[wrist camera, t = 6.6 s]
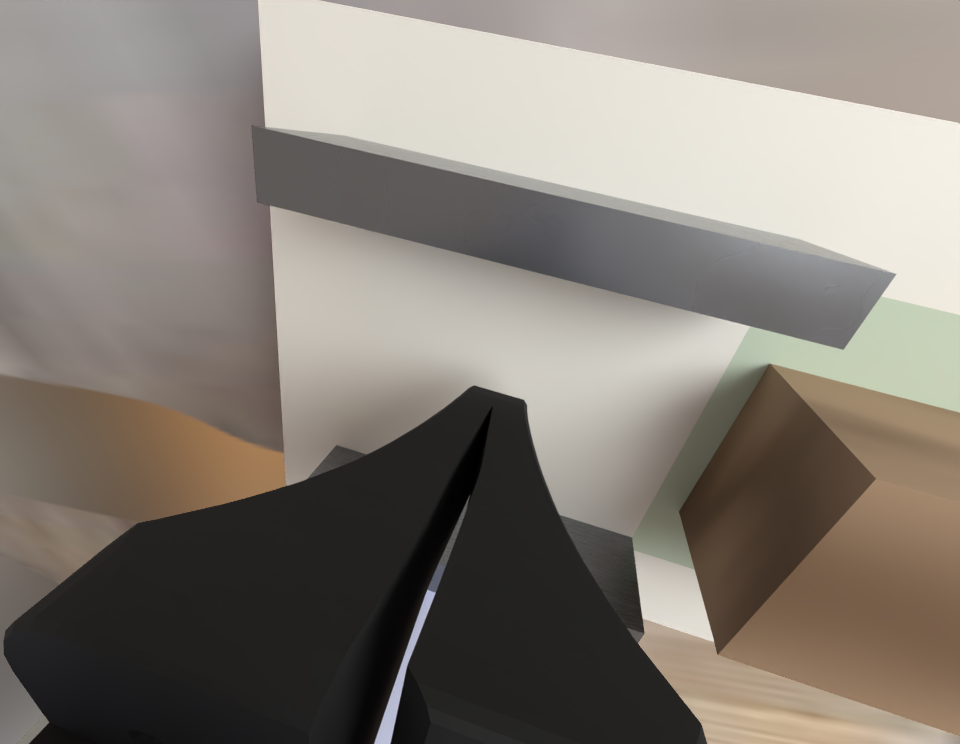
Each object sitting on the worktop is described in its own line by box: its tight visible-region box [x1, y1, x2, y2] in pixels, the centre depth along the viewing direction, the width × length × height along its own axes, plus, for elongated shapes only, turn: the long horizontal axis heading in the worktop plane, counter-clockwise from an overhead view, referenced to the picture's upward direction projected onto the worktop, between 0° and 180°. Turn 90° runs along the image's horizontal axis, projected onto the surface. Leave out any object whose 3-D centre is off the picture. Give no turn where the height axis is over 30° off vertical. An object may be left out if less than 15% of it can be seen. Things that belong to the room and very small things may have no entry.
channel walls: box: [252, 126, 896, 643], centre depth 10 cm, size 10×10×3 cm
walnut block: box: [679, 364, 960, 736], centre depth 9 cm, size 5×5×4 cm
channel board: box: [258, 0, 960, 642], centre depth 12 cm, size 15×26×2 cm, turn 79°
